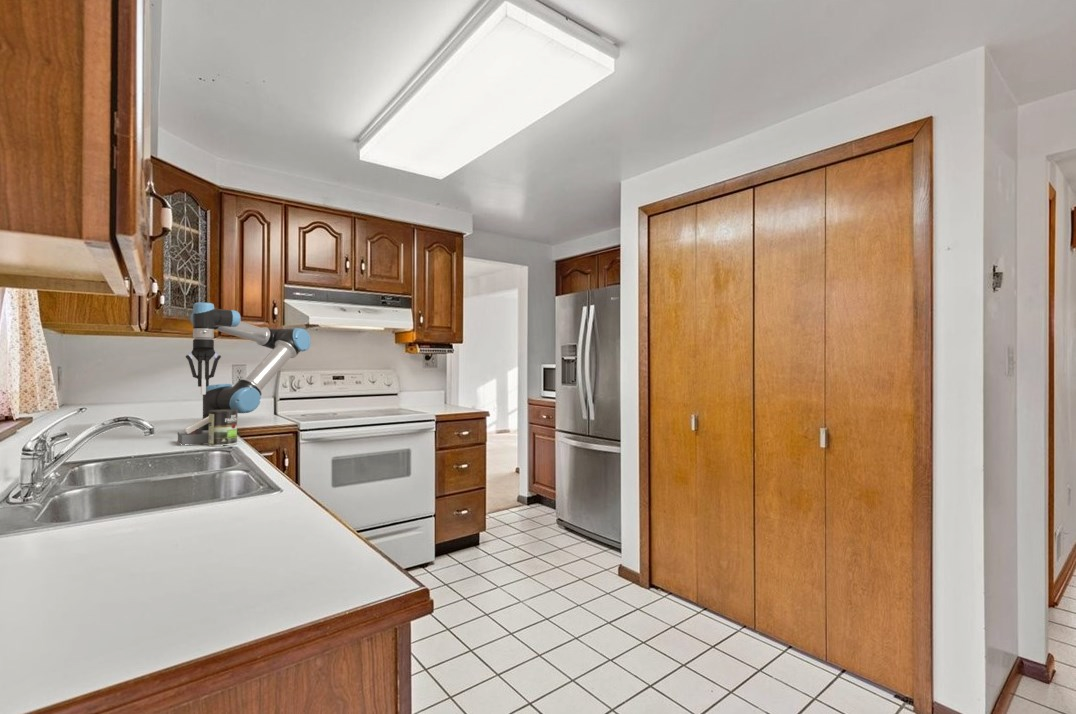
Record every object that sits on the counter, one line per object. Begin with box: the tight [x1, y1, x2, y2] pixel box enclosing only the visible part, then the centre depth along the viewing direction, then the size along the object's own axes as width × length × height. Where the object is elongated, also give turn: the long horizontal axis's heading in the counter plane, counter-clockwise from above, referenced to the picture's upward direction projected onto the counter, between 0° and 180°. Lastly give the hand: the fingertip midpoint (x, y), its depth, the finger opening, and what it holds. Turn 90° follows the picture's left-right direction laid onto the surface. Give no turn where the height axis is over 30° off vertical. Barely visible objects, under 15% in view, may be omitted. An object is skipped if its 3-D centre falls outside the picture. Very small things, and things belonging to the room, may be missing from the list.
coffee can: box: [207, 409, 238, 447], centre depth 214 cm, size 10×10×14 cm
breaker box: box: [177, 428, 209, 446], centre depth 219 cm, size 13×12×6 cm
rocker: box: [183, 416, 209, 434], centre depth 217 cm, size 4×10×2 cm, turn 131°
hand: (203, 394), depth 223 cm, fingers closed
